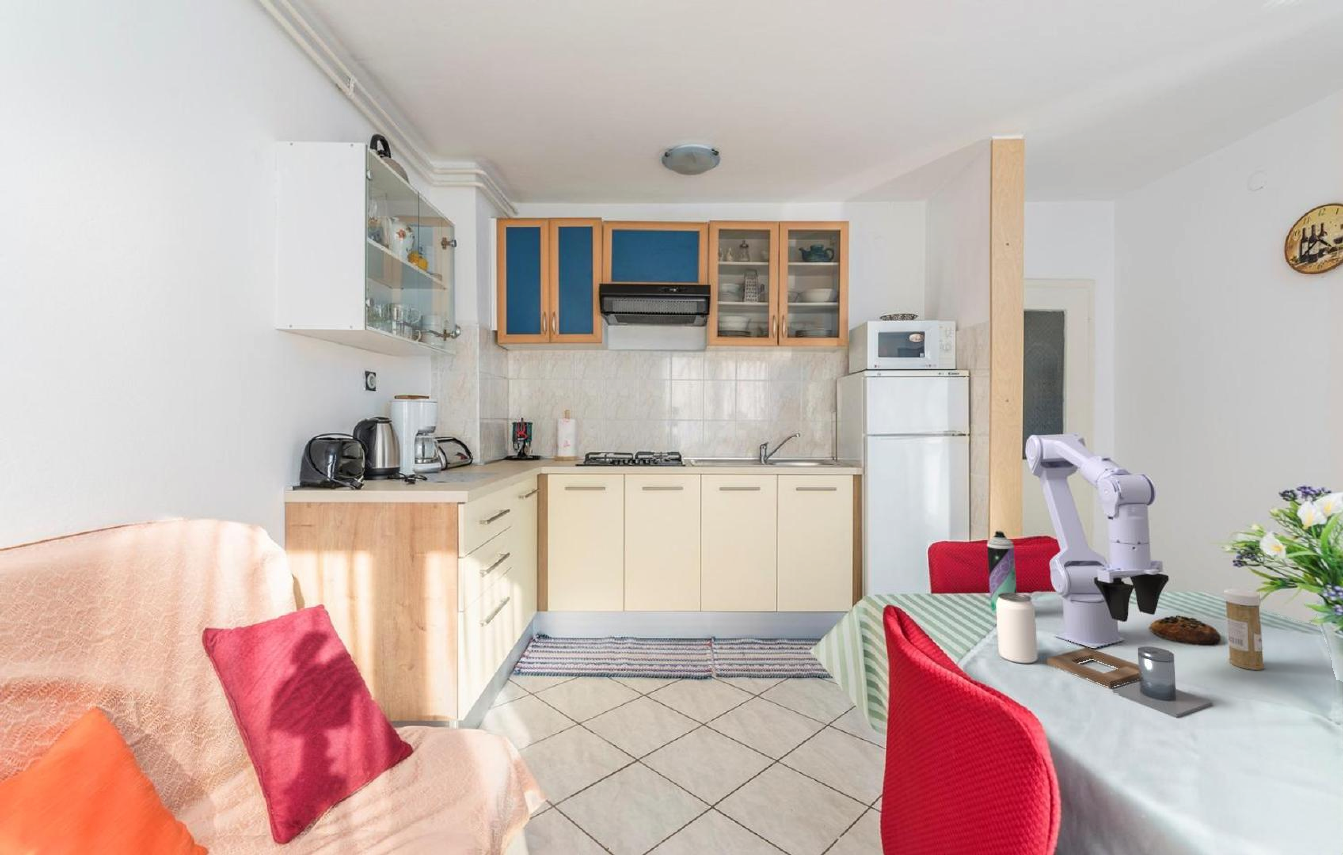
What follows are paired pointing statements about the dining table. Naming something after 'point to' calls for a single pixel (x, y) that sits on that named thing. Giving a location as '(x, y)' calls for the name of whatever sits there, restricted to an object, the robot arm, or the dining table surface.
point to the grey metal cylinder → (1157, 673)
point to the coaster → (1175, 708)
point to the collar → (1113, 678)
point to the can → (1016, 628)
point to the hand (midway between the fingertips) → (1133, 616)
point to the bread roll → (1186, 630)
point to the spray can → (1000, 568)
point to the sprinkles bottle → (1244, 628)
